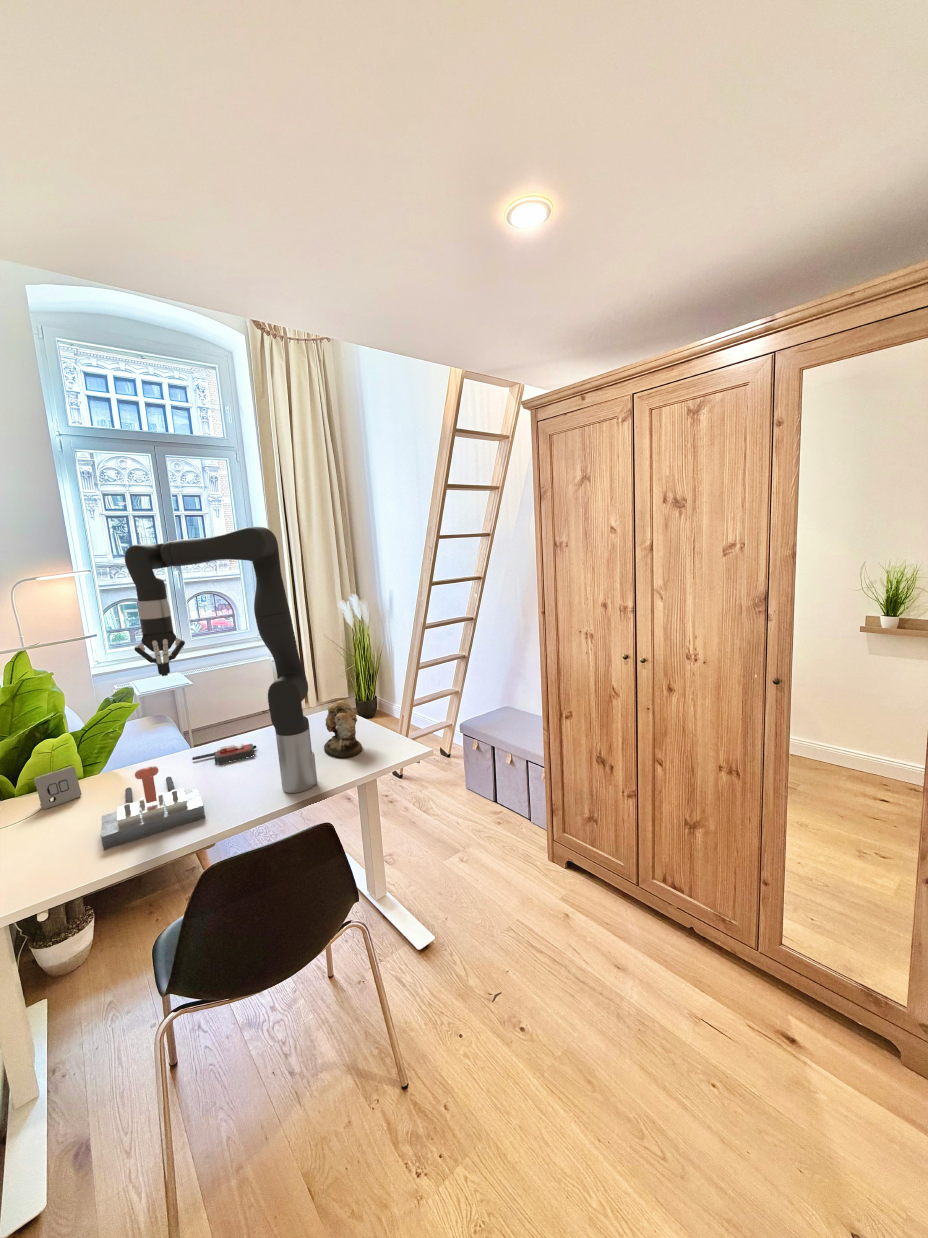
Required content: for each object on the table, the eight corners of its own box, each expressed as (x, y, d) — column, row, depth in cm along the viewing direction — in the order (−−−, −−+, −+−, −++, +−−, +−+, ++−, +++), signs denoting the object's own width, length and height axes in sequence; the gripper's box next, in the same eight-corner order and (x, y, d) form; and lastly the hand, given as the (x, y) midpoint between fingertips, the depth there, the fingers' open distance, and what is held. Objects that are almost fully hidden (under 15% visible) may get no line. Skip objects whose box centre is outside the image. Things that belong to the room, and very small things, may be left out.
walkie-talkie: (256, 747, 178) (192, 761, 169) (254, 736, 177) (190, 749, 168) (258, 756, 170) (191, 771, 161) (256, 744, 169) (190, 758, 160)
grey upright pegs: (173, 779, 155) (172, 771, 155) (180, 805, 139) (179, 796, 139) (123, 793, 148) (122, 785, 148) (125, 822, 132) (123, 813, 132)
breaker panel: (198, 799, 142) (194, 773, 141) (205, 817, 132) (201, 789, 131) (104, 828, 130) (99, 800, 128) (103, 850, 120) (97, 820, 119)
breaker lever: (161, 793, 132) (157, 762, 125) (163, 800, 130) (158, 770, 124) (139, 799, 129) (133, 769, 122) (140, 807, 128) (134, 776, 121)
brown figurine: (315, 746, 175) (311, 699, 173) (347, 737, 182) (343, 692, 180) (337, 762, 161) (332, 711, 159) (370, 751, 168) (366, 702, 166)
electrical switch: (42, 811, 140) (35, 779, 139) (38, 807, 144) (31, 776, 143) (82, 797, 148) (76, 766, 147) (77, 793, 151) (71, 764, 150)
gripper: (127, 620, 134) (138, 682, 137) (183, 613, 141) (192, 673, 144) (127, 617, 140) (137, 677, 143) (180, 611, 148) (189, 668, 150)
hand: (164, 675), depth 144 cm, fingers closed
